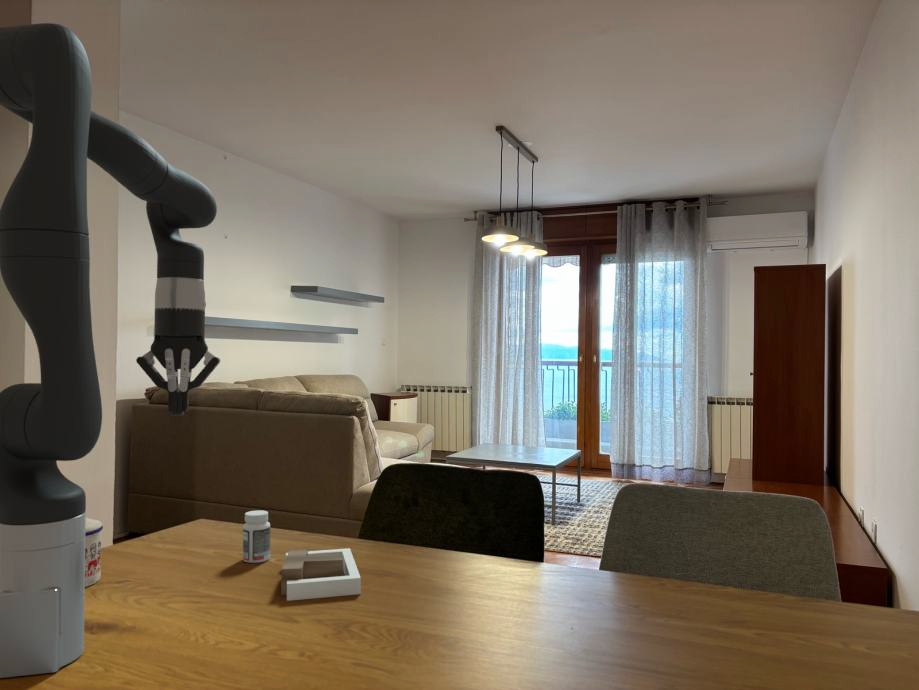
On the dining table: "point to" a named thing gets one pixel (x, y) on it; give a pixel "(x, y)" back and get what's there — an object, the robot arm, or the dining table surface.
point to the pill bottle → (256, 537)
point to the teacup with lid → (92, 551)
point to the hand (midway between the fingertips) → (178, 414)
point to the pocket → (327, 580)
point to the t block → (309, 567)
